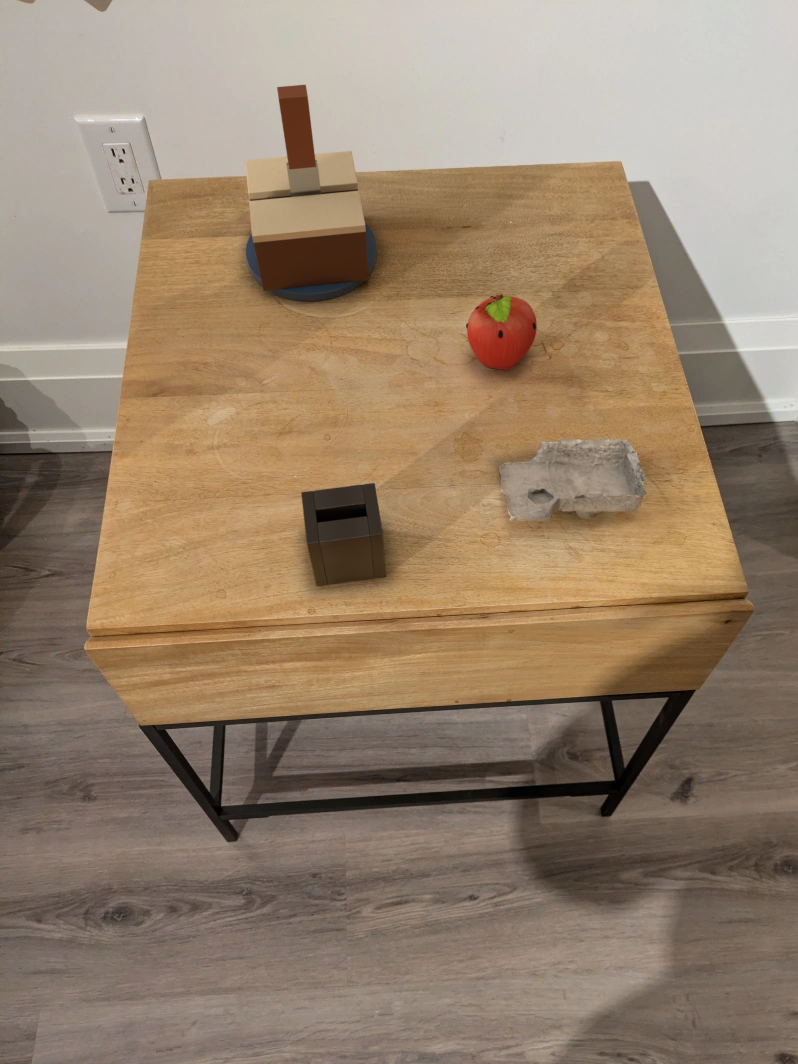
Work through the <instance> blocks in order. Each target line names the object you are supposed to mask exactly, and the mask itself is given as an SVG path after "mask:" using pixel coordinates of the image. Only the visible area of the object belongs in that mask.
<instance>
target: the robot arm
mask: <svg viewBox="0 0 798 1064" xmlns="http://www.w3.org/2000/svg"><path fill="white" fill-rule="evenodd" d="M17 1H18V2H21V3H25V4H29V5H32V4H34V3H35V2H36V1H37V0H17ZM83 1H84V2H86V3H87V4H89V5H90V6H91V7H93V8H94V9H95V10H97V11H99V12H101V13H104V12H106V11H107V10H108V8H109V7H110V5H111V3H112V2H113V0H83Z"/></svg>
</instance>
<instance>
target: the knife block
mask: <svg viewBox="0 0 798 1064" xmlns="http://www.w3.org/2000/svg"><path fill="white" fill-rule="evenodd" d="M300 495H301V503H302V504H301V505H302V514H303V521H304V522H303V523H304V532H305V541H306V547H307V552H308V556H309V560H310V565H311V569H312V574H313V578H314V582H315V586H316V587H322V586H328V585H329V586H330V585H336V584H337V585H338V584H343V583H351V582H358V581H365V580H372V579H381V578H387V572H386V558H385V544H384V533H383V526H382V525H383V524H382V519H381V513H380V507H379V502H378V501H379V499H378V495H377V488H376V483H375V482H371V483H363V484H355V485H348V486H338V487H330V488H322V489H316V490H315V489H314V490H309V491H302V492H301V494H300Z"/></svg>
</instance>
